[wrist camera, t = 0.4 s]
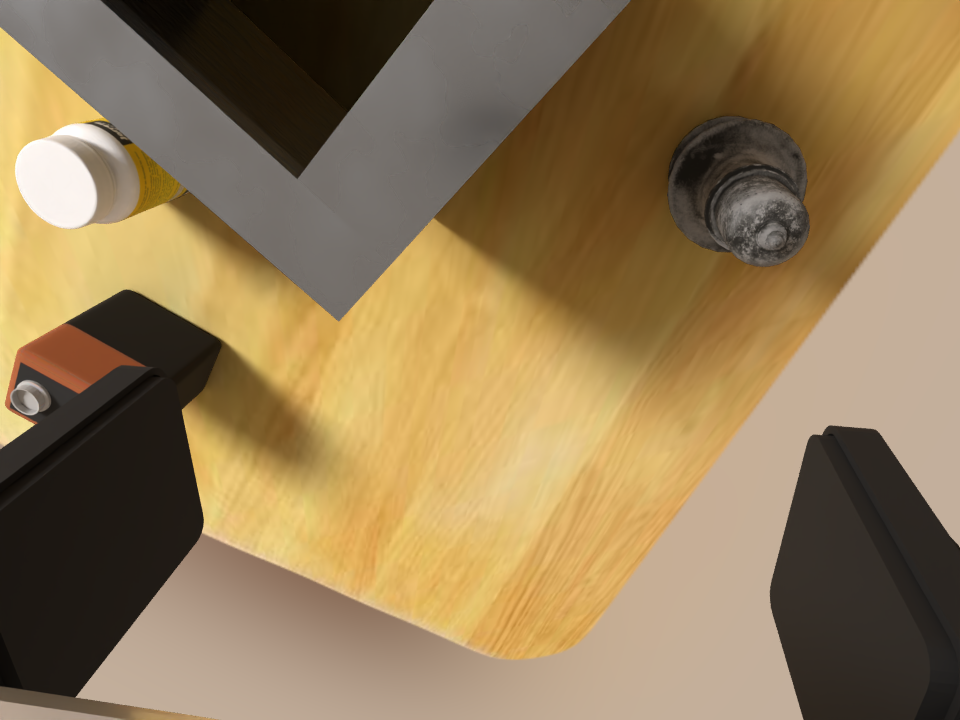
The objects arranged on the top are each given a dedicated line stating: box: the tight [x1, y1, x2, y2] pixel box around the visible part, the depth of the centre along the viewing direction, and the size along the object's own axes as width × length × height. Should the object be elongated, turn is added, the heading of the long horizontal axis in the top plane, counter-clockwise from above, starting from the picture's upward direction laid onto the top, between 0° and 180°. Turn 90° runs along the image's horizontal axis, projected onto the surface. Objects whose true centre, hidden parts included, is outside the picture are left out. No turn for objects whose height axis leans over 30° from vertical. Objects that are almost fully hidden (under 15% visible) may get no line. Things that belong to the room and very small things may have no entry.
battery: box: [5, 290, 221, 425], centre depth 39 cm, size 4×7×10 cm, turn 60°
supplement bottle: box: [15, 118, 189, 229], centre depth 34 cm, size 5×5×8 cm
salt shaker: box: [667, 116, 810, 267], centre depth 28 cm, size 6×6×12 cm
